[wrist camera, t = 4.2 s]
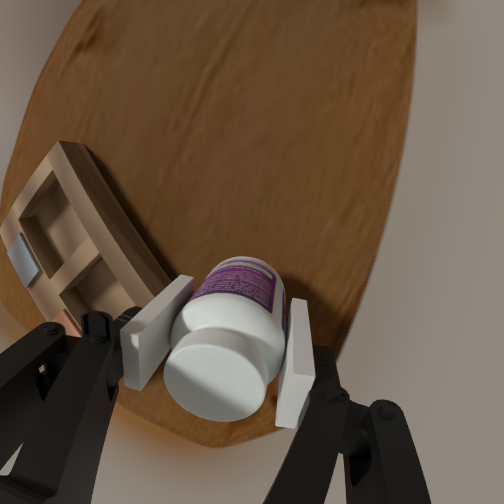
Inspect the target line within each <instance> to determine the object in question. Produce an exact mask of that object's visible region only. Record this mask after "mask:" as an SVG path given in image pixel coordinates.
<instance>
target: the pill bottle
mask: <svg viewBox="0 0 504 504" xmlns="http://www.w3.org/2000/svg"><path fill="white" fill-rule="evenodd" d="M285 347H286V300H285V289H284V285H283V282H282V280H281V278H280V276H279V275H278V273H277V272H276V271H275V270H274V269H273V268H272V267H271V266H269V265H268V264H267V263H265V262H264V261H262V260H259V259H256V258H252V257H243V256H241V257H233V258H230V259H227V260H225V261H223V262H221V263H220V264H219V265H217V266H216V267H215V268H214V269H213V270H212V271H211V272H210V274H209V275H208V276H207V277H206V279H205V280H204V281H203V283H202V284H201V285H200V286H199V288H198V289H197V290H196V292H195V293H194V294H193V296H192V297H191V298H190V299H189V301H188V302H187V303H186V305H185V306H184V307H183V308H182V310H181V311H180V312H179V314H178V316H177V317H176V319H175V322H174V324H173V327H172V331H171V349H172V352H171V354H170V356H169V358H168V359H167V361H166V364H165V367H164V382H165V385H166V387H167V389H168V391H169V393H170V395H171V396H172V397H173V399H174V400H175V401H176V402H177V403H178V404H179V405H180V406H181V407H183V408H184V409H185V410H187V411H189V412H190V413H192V414H194V415H196V416H198V417H201V418H204V419H207V420H212V421H220V422H229V421H236V420H240V419H244V418H246V417H248V416H250V415H251V414H253V413H254V412H255V411H256V410H257V409H258V408H259V407H260V406H261V404H262V403H263V401H264V398H265V394H266V388H267V384H268V383H269V382H271V381H272V380H273V378H274V377H275V376H276V375H277V373H278V372H279V370H280V368H281V366H282V363H283V360H284V355H285Z"/></svg>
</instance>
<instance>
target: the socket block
mask: <svg viewBox="0 0 504 504" xmlns="http://www.w3.org/2000/svg"><path fill="white" fill-rule="evenodd" d="M0 235H1V237H2V239H3V242H4V244H5V246H6V248H7V250H8V252H7V253H8V256H9V258H10V260H11V262H12V264H13V266H14V268H15V270H16V272H17V274H18V275H19V277H20V279H21V281H22V283H23V285H24V287H25V288H27V289H28V291H29V293H30V294H31V296H32V298H33V299H34V301H35V303H36V304H37V306H38V308H39V309H40V311H41V313H42V314H43V316H44V317H45V319H46V320H47V322H57V323H60V324H62V325H63V326H64V327H65V330H66V335H70V336H75V337H81V336H82V327H81V318H80V316H81V315H82V314H84V313H86V312H89V311H103V312H106V313H108V314H110V315H111V316H112V318H113V321H114V320H115V319H117V317H118V316H120V315H121V314H122V313H123V312H124V311H125V310H127V309H129V308H131V307H134V306H138V307H142V308H144V307H145V306H146V305H148V304H149V303H150V302H151V301H152V300H153V299H154V298H155V297H156V296H157V295H158V294H160V293H161V292H162V291H163V290H164V289H165V288H166V287H167V286H168V285H170V284H171V283H172V281H171V280H170V278H169V277H168V275H167V274H166V273H165V271H164V270H163V268H162V267H161V266H160V264H159V263H158V261H157V260H156V259H155V257H154V256H153V254H152V253H151V251H150V250H149V248H148V247H147V245H146V244H145V243H144V241H143V240H142V238H141V237H140V235H139V234H138V232H137V231H136V229H135V228H134V226H133V225H132V223H131V221H130V220H129V218H128V217H127V215H126V214H125V212H124V211H123V209H122V208H121V206H120V204H119V203H118V201H117V200H116V198H115V196H114V195H113V193H112V191H111V190H110V188H109V187H108V185H107V183H106V182H105V180H104V178H103V177H102V175H101V173H100V172H99V170H98V168H97V166H96V165H95V163H94V161H93V159H92V158H91V156H90V154H89V152H88V151H87V149H86V147H85V145H84V144H80V143H73V142H66V141H59V140H58V141H57V143H56V144H55V145H54V146H53V148H52V149H51V150H50V152H49V153H48V154H47V156H46V157H45V158H44V160H43V161H42V162H41V164H40V165H39V166H38V168H37V169H36V171H35V172H34V173H33V175H32V176H31V178H30V179H29V181H28V182H27V184H26V185H25V187H24V188H23V190H22V192H21V193H20V195H19V196H18V198H17V200H16V201H15V203H14V204H13V206H12V208H11V210H10V211H9V213H8V215H7V216H6V218H5V220H4V222H3V224H2V226H1V227H0Z"/></svg>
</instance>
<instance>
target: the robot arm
mask: <svg viewBox="0 0 504 504" xmlns="http://www.w3.org/2000/svg"><path fill="white" fill-rule="evenodd" d="M193 279H194V277H190V276H185V275H180V276H178V277H177V278H176V279H175V280H174V281H173V282H172V283H171V284H170V285H168V286H167V287H166V288H165V289H164V290H163V291H162V292H161V293H160V294H158V295H157V296H156V297H155V298H154V299H153V300H152V301H151V302H150V303H149V304H148V305H146V306H145V307H144V308H142V307H138V306H134V307H131V308H129V309H127V310H125V311H124V312H123V313H122V314H121V315H120V316H118V317H117V319H115V320H114V321H113V318H112V316H111V315H110V314H108V313H106V312H103V311H89V312H86V313H84V314H82V315H81V316H80V318H81V327H82V336H81V337H75V336H70V335H66V330H65V327H64V326H63V325H62V324H60V323H57V322H46V323H43V324H41V325H39V326H38V327H36V328H35V329H33V330H32V331H31V332H29V333H28V334H26V335H25V336H24V337H22V338H21V339H20V340H18V341H17V342H15V343H14V344H13V345H11V346H10V347H9V348H7V349H6V350H5V351H3V352H2V353H1V354H0V470H1V469H2V468H3V466H4V465H5V464H6V463H7V461H8V460H9V459H10V458H11V456H12V455H13V454H14V453H15V451H16V450H17V449H18V448H19V447H20V445H21V444H22V443H23V445H22V447H21V449H20V451H19V454H18V456H17V458H16V461H15V463H14V466H13V468H12V471H11V472H10V474H9V475H7V476H1V475H0V504H91V499H92V494H93V489H94V484H95V479H96V475H97V470H98V466H99V462H100V457H101V453H102V449H103V445H104V441H105V437H106V434H107V429H108V426H109V423H110V419H111V415H112V412H113V408H114V405H115V402H116V398H117V395H118V392H119V384H118V381H119V380H120V379H121V378H122V377H123V378H124V386H127V387H129V388H132V389H135V390H137V391H140V392H141V391H142V389H143V388H144V386H145V385H146V384H147V382H148V381H149V379H150V378H151V376H152V375H153V373H154V372H155V370H156V369H157V367H158V366H159V364H160V363H161V362H162V360H163V359H164V357H165V356H166V354H167V353H168V351H169V350H170V348H171V331H172V327H173V324H174V322H175V319H176V317H177V316H178V314H179V312H180V311H181V310H182V308H183V307H184V306H185V305H186V303H187V302H188V301H189V299H190V298H191V297H192V289H193ZM42 365H44V369H45V370H44V371H43V372H41V373H40V371H39V368H40V367H41V366H42ZM297 422H298V430H297V432H296V435H295V437H294V439H293V441H292V443H291V446H290V448H289V450H288V453H287V455H286V457H285V459H284V462H283V464H282V466H281V468H280V470H279V472H278V474H277V476H276V478H275V480H274V483H273V484H272V486H271V488H270V491H269V492H268V494H267V496H266V498H265V500H264V502H263V504H324V501H325V498H326V495H327V491H328V489H329V485H330V482H331V478H332V475H333V471H334V467H335V464H336V460H337V456H338V453H341V454H343V459H344V471H345V486H346V502H347V504H431V500H430V497H429V493H428V489H427V485H426V482H425V478H424V475H423V471H422V468H421V465H420V462H419V458H418V455H417V452H416V449H415V446H414V442H413V440H412V437H411V433H410V431H409V428H408V425H407V422H406V419H405V416H404V413H403V411H402V410H401V408H400V407H399V406H398V405H397V404H396V403H394V402H391V401H389V400H376V401H374V402H373V403H372V404H371V406H370V407H367V406H364V405H361V404H357V403H355V402H353V401H351V400H350V398H349V394H348V393H347V391H346V390H345V389H343V388H342V387H341V386H340V381H339V376H338V372H337V368H336V363H335V357H334V354H333V353H332V351H331V350H330V349H329V348H328V347H323V346H316V345H312V340H311V332H310V324H309V316H308V308H307V301H306V300H302V299H297V298H292V302H291V306H290V310H289V314H288V318H287V322H286V347H285V355H284V360H283V363H282V366H281V368H280V374H279V388H278V400H277V413H276V424H275V426H280V427H286V428H295V427H296V425H297Z"/></svg>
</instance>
